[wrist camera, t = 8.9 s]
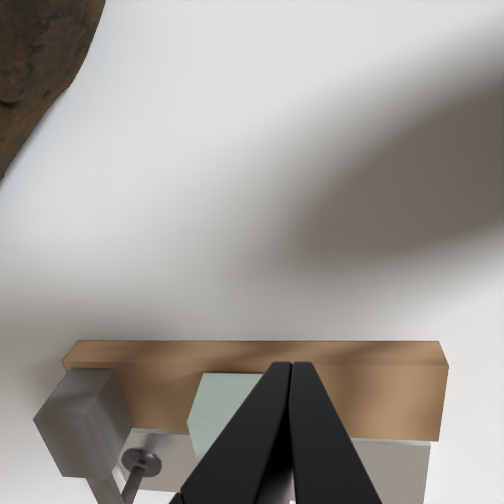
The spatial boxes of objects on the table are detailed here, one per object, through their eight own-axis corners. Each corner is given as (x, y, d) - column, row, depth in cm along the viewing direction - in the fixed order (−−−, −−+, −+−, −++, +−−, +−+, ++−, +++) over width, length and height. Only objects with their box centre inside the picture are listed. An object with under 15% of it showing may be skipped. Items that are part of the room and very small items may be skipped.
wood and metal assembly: (438, 341, 23) (474, 429, 18) (420, 494, 30) (442, 592, 24) (78, 340, 27) (21, 412, 22) (131, 475, 34) (97, 555, 29)
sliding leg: (271, 363, 24) (258, 456, 19) (289, 504, 30) (283, 604, 25) (207, 362, 25) (176, 452, 19) (237, 500, 31) (220, 596, 26)
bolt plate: (427, 435, 27) (431, 448, 26) (419, 498, 30) (422, 512, 29) (110, 422, 31) (104, 432, 30) (133, 479, 34) (128, 490, 33)
